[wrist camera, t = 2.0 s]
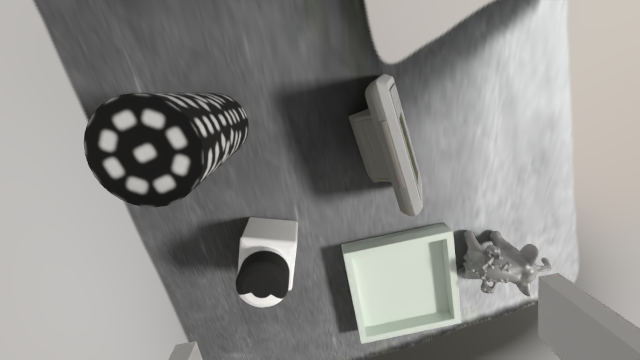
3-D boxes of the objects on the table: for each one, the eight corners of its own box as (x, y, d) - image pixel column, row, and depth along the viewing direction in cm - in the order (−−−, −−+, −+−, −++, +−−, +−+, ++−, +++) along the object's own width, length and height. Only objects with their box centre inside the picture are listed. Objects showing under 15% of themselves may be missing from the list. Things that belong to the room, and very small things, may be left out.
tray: (340, 244, 47) (343, 254, 45) (443, 222, 47) (453, 231, 45) (358, 329, 52) (361, 343, 49) (452, 309, 52) (461, 322, 49)
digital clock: (418, 186, 46) (451, 213, 36) (357, 195, 46) (373, 225, 35) (411, 70, 41) (446, 62, 31) (343, 80, 41) (357, 76, 31)
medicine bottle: (248, 215, 45) (231, 257, 34) (297, 220, 46) (296, 263, 35) (246, 259, 47) (228, 313, 36) (293, 263, 48) (290, 317, 36)
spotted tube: (229, 82, 40) (164, 72, 21) (259, 140, 43) (224, 179, 23) (172, 109, 41) (58, 124, 22) (205, 165, 43) (127, 224, 24)
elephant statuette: (447, 233, 49) (470, 260, 41) (524, 208, 47) (562, 232, 40) (460, 281, 51) (484, 315, 44) (534, 259, 50) (571, 289, 43)
